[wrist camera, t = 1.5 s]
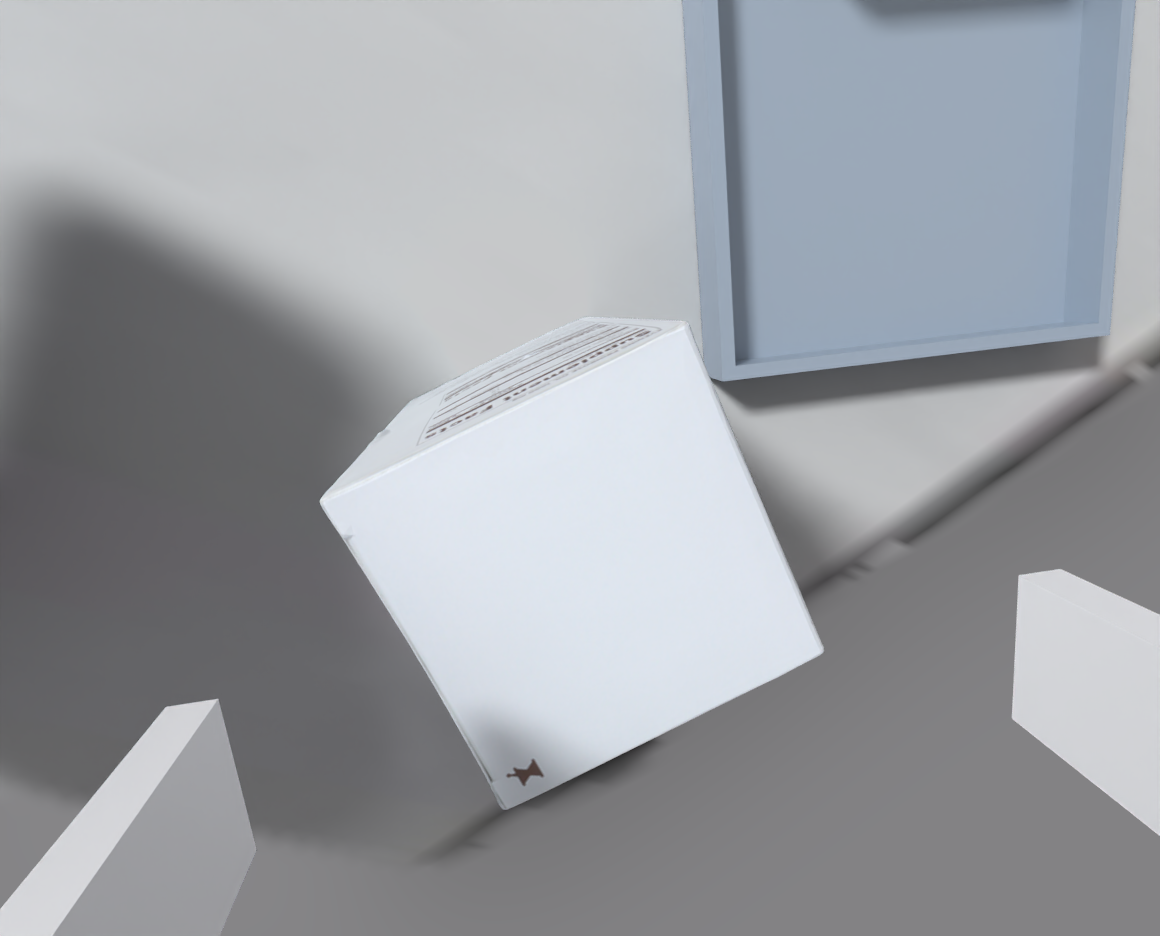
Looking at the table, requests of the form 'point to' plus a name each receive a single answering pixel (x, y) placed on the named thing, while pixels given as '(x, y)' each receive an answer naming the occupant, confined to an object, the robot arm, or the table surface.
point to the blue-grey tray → (903, 176)
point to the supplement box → (574, 549)
